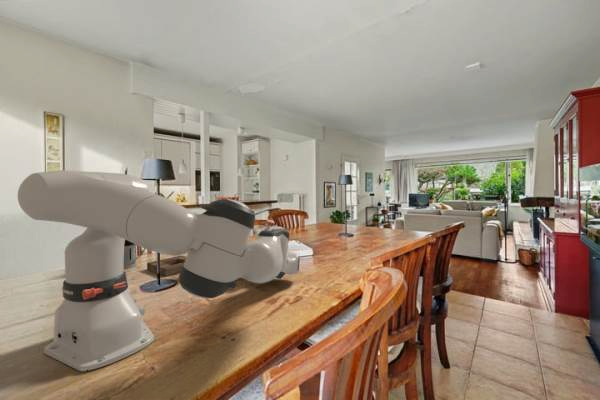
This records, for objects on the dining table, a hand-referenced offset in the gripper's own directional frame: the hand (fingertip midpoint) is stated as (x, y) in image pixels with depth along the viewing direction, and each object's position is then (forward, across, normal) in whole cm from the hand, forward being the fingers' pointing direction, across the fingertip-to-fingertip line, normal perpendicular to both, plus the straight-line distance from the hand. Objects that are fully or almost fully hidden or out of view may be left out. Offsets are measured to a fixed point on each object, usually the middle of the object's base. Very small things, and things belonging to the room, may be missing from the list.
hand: (226, 259), depth 108 cm
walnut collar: (+27, +5, -7) cm, 28 cm away
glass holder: (+47, +4, -7) cm, 48 cm away
